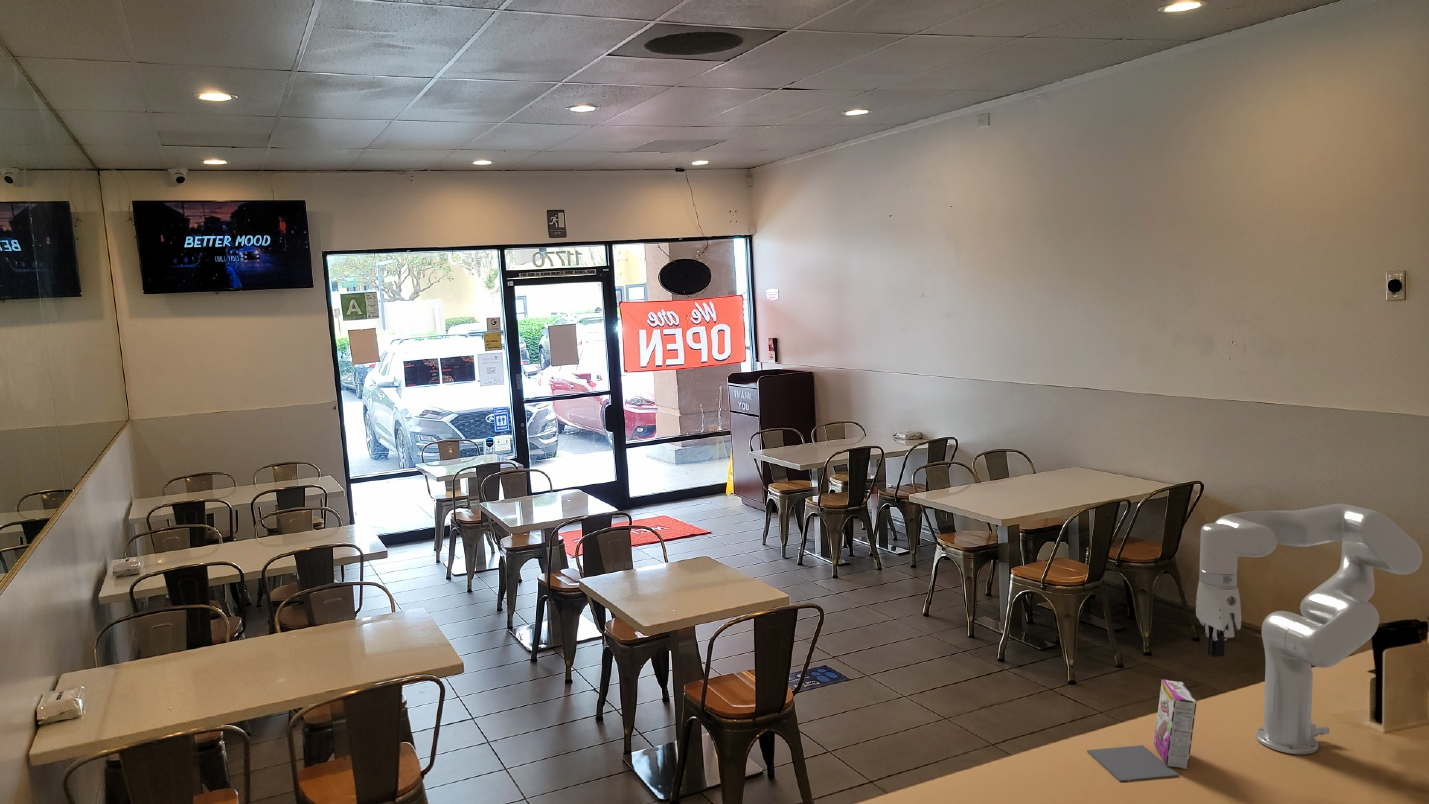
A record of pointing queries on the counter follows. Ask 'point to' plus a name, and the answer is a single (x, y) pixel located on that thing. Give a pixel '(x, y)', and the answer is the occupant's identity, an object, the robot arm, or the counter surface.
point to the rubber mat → (1132, 763)
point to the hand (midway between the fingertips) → (1215, 655)
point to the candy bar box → (1175, 724)
